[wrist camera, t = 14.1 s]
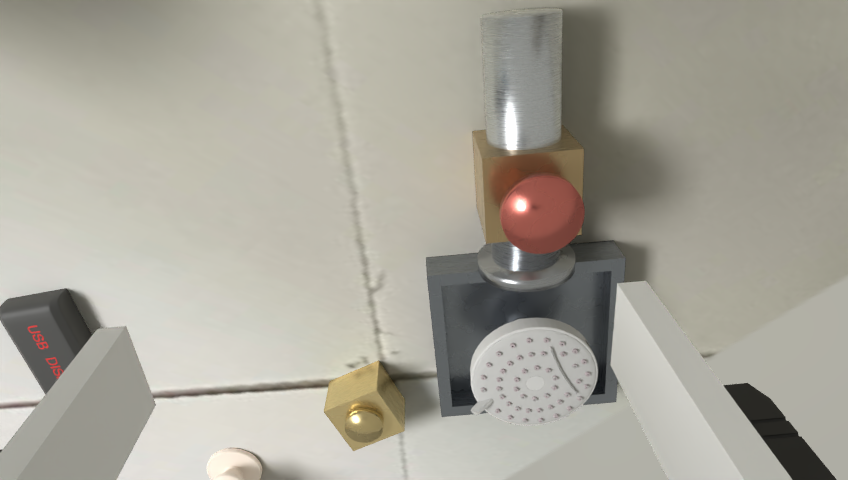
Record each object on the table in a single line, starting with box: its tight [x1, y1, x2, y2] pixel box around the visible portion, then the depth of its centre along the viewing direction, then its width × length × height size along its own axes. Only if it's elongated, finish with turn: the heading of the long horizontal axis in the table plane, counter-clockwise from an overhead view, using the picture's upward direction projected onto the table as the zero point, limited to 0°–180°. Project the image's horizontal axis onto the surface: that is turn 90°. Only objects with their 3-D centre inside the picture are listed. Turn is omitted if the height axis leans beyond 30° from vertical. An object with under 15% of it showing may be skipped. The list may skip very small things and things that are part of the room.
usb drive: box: [0, 288, 92, 394], centre depth 49 cm, size 5×12×3 cm, turn 11°
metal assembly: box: [426, 8, 626, 417], centre depth 42 cm, size 15×32×10 cm, turn 5°
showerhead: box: [470, 318, 598, 426], centre depth 46 cm, size 9×7×10 cm
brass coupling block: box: [324, 361, 405, 451], centre depth 51 cm, size 5×5×5 cm
